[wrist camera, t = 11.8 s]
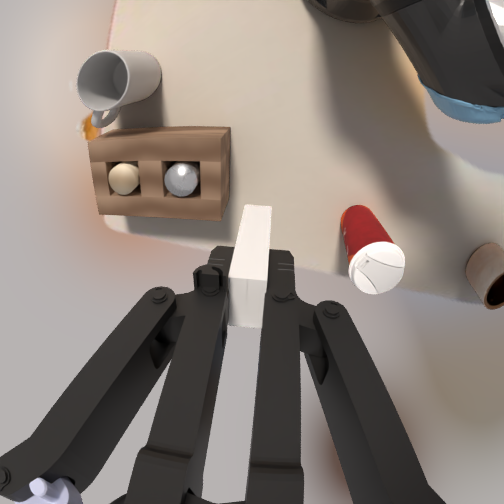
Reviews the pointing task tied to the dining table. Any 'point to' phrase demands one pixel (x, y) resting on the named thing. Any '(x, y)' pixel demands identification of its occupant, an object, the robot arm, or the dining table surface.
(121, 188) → the beech peg
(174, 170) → the aluminium peg
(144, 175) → the walnut socket block
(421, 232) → the dining table surface
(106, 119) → the mug
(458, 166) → the dining table surface
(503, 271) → the planter
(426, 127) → the dining table surface
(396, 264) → the coffee cup
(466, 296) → the dining table surface
